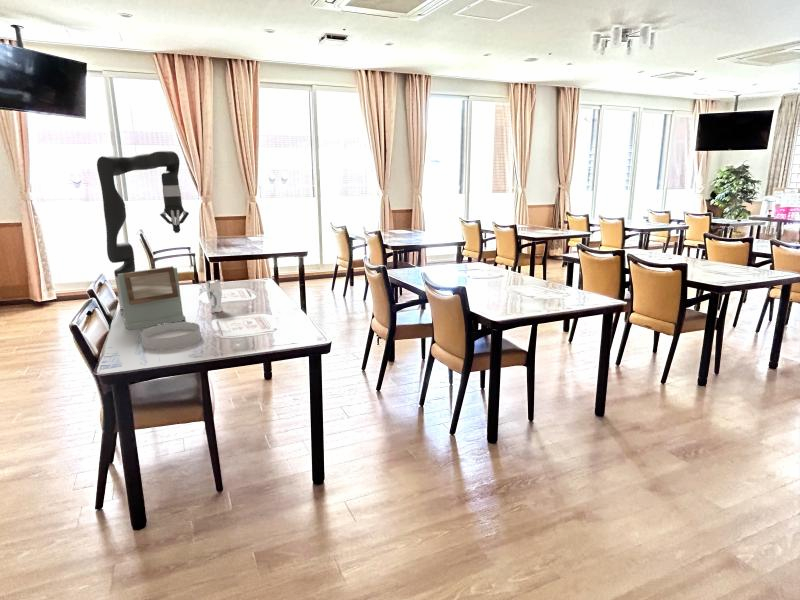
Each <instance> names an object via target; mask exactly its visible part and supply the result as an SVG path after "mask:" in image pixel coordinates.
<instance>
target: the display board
mask: <svg viewBox="0 0 800 600" xmlns="http://www.w3.org/2000/svg"><path fill="white" fill-rule="evenodd" d="M173 268H174V274H175V279H176V285H177V291H178V296H179V297H174V298H168V299H163V300H157V301H151V302H146V303H140V304H134V305H130V304H129V299H128V294H127V289H126V284H125V279H124V274H123V273H121V274H118V280H119V286H120V292H121V299H122V305H123V310H122V311H123V315H124V316H123V318H124V319H123V321H124V326H125V325H126V326H125V328H126V330H127V331H131V330H136V328H137V329H142V328H141V327H144V328H148V327H147V326H150V327H154V325H156V326H158V324H162V325H163V324H164V323H171V322H174V323H177V322H176V321H180V322H183V321H182V320H186V315H185V314H184V312H183V305H182V298H181V290H180V282H179V281H180V280H179V275H178V274H179V273H178V267H175V266H174V267H173ZM186 321H187V320H186Z"/></svg>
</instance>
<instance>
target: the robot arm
mask: <svg viewBox="0 0 800 600" xmlns="http://www.w3.org/2000/svg"><path fill="white" fill-rule="evenodd" d="M158 168H166V169H165V172H163V173H162V174H161V185H162V195H163V196H162V197H163V203H164V208H163V212H161V213H159V216H160V217H161V218H162V219H163V220H164V221H165V222H166V223H168V224H169V225H172V231H173V232H174V233H175V234H179V233H180V231H181V227H180V226H181V224H183V223H184V222H185V221H186V219H187V217H188V216H189V214H190V213H189V212H188V211H186V210H184V207H183V201H182V193H181V188H180V183H179V171H180V157H179V156H178V154H177V153H176V152H175V151H172V150H171V151H170V150H160V151H159V150H158V151H154V152H148V153H147V152H146V153H141V154H137V155H134V156H116V155H101V156H99V158H98V159H97V161H96V169H97V174H98V179H99V183H100V189H101V196H102V201H103V202H102V204H103V214H104V221H105V229H106V230H105V231H106V232H105V233H106V252H107V253H106V254H107V258H108V261H110V263H113V264H114V263H115V264H116V263H122V265H121V266H120V267H117V268H116V269H115V270H114V272H113V273H114V279H115V284H116V285H115V286H116V291H117V298H118V303H119V304H118V305H119V309H120V310H121V309H123V305H122V299H121V292H120V286H119V280H118V274H121V273H129V272H136V264H135V254H134V248H133V246H132V244H130V243H129V242H122V243H121V242H120V243H119V242H118V236H119V232H120V231H121V230H122V229H121V228H122V227H123V225H124V223H125V221H126V219H127V218H126V217H127V212H126V210H127V209H126V204H125V200H124V199H123V198H122V196H121V195H120V193H119V192H118V190H117V188H116V184H115V177H118V176H120V175H123V174H126V173H129V172H133V171H143V170H154V169H158ZM167 216H168V217H169V218H170V219H169V218H168V217H167ZM180 217H181V219H180Z"/></svg>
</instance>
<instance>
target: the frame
mask: <svg viewBox="0 0 800 600" xmlns="http://www.w3.org/2000/svg"><path fill="white" fill-rule="evenodd" d="M174 268H175V267H174V266H173V265H171V266H164V267H157V268H150V269H144V270H135V272H129V273H123V274H124V279H125V284H126V289H127V294H128V299H129V304H130V305H134V304H140V303H146V302H151V301H157V300H163V299H168V298H174V297H179V296H178V291H177V285H176V279H175V274H174Z"/></svg>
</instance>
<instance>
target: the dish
mask: <svg viewBox="0 0 800 600" xmlns="http://www.w3.org/2000/svg"><path fill="white" fill-rule="evenodd" d="M140 336H141V346H142V348H144V349H146V348H147V349H146V350H150V349H168V350H174V348H176V349H180V348H184V347H188V346H191V345H193V343H194V344H196V343H198V342H199V341H201V339H202V332H201V328H200V324H198V323H197V322H196V323H195V322H190V321H189V322H186V321H180V322H174V323H168V324H162V325H156V326H150V327H147V328H146V329H144V330H143V331H142V332H141V334H140ZM197 341H198V342H197Z"/></svg>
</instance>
